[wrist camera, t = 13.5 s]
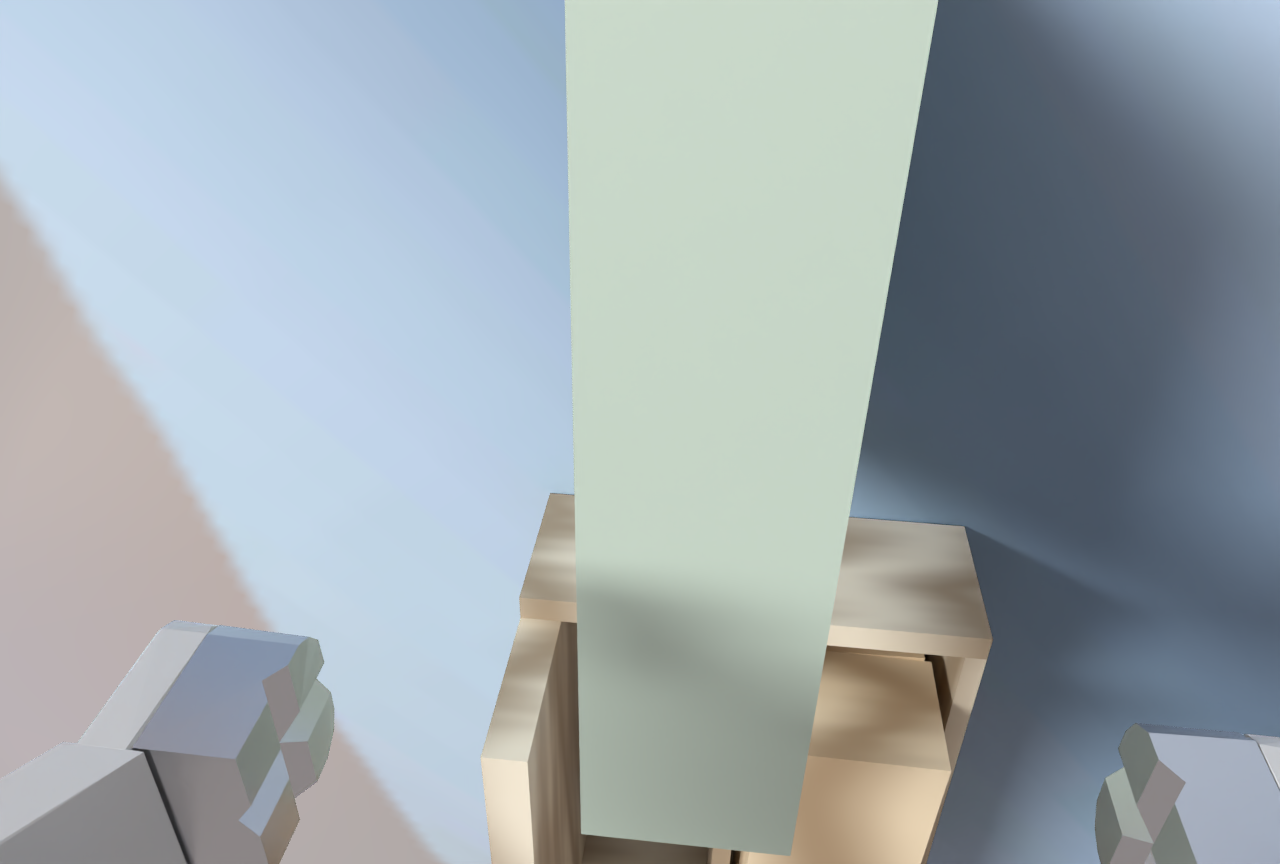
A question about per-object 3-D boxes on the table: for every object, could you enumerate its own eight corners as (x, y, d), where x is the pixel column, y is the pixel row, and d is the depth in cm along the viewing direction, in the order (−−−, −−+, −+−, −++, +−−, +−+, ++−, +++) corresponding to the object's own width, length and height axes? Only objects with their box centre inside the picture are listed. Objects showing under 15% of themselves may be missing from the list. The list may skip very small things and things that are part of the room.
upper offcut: (931, 662, 31) (951, 771, 27) (861, 905, 38) (871, 1014, 35) (766, 644, 31) (766, 750, 28) (728, 889, 38) (725, 996, 35)
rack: (964, 526, 32) (1031, 790, 24) (880, 855, 42) (907, 1123, 34) (550, 493, 33) (478, 735, 25) (562, 822, 43) (513, 1074, 35)
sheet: (842, -182, 22) (953, -87, 9) (780, 370, 30) (790, 855, 17) (683, -187, 22) (562, -100, 9) (662, 362, 30) (581, 833, 17)
